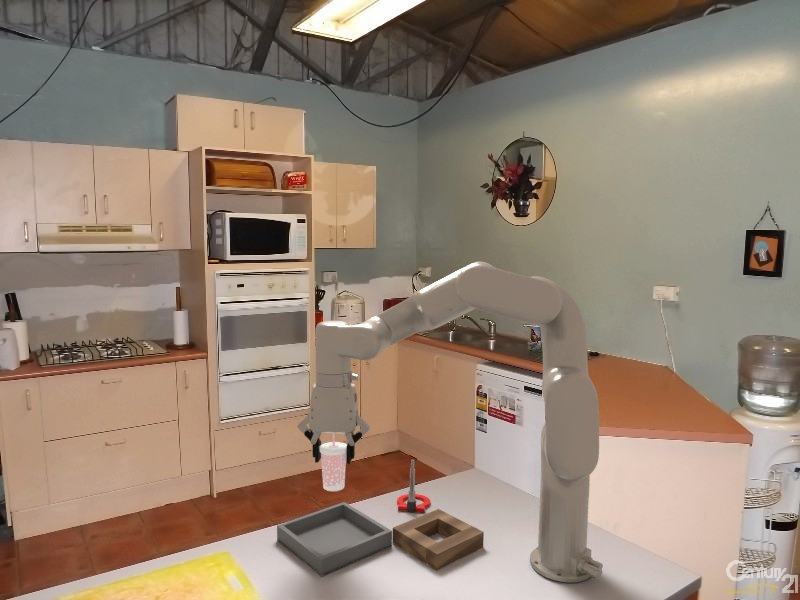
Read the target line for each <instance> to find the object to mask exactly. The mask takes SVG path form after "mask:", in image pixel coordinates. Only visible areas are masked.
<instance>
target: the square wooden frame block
mask: <svg viewBox="0 0 800 600" xmlns="http://www.w3.org/2000/svg"><path fill="white" fill-rule="evenodd" d="M436 534H439V535H441V536H442V535H443V536H442V537H444V536H445V537H444V539H442V540H440V541H436V540H435V539H433V538H431V537H433V536H435V535H436ZM432 535H433V536H432ZM392 544H394V545H395V546H397V547H399V549H401V550H403V551H405V552H406V553H408V554H409V555H411V556H412V557H414V558H416V559H417V560H419V561H421V562H422V563H424V564H425V565H426V566H428V567H431V568H432V569H433V570H435V571H436V572H437V571H439V570H441V569H444V568H445V567H447V566H450V565H452V564H453V563H455V562H457V561H459V560H461V559H463V558H465V557H466V556H469V555H471V554H473V553H474V552H477V551H479V550H481V549H483V548H484V531H482V530H480V529H479V528H476V526H473V525H471V524H469V523H468V522H465V521H463V520H462V519H459V518H457V517H455V516H453V515H451V514H449V513H447V512H445V511H443V510H441V509H439V508H438V509H435V510H433V511H430V512H428V513H424V514H423V515H420V516H418V517H415V518H413V519H411V520H408V521H406V522H403V523H401V524H398V525H396V526H393V527H392Z"/></svg>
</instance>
